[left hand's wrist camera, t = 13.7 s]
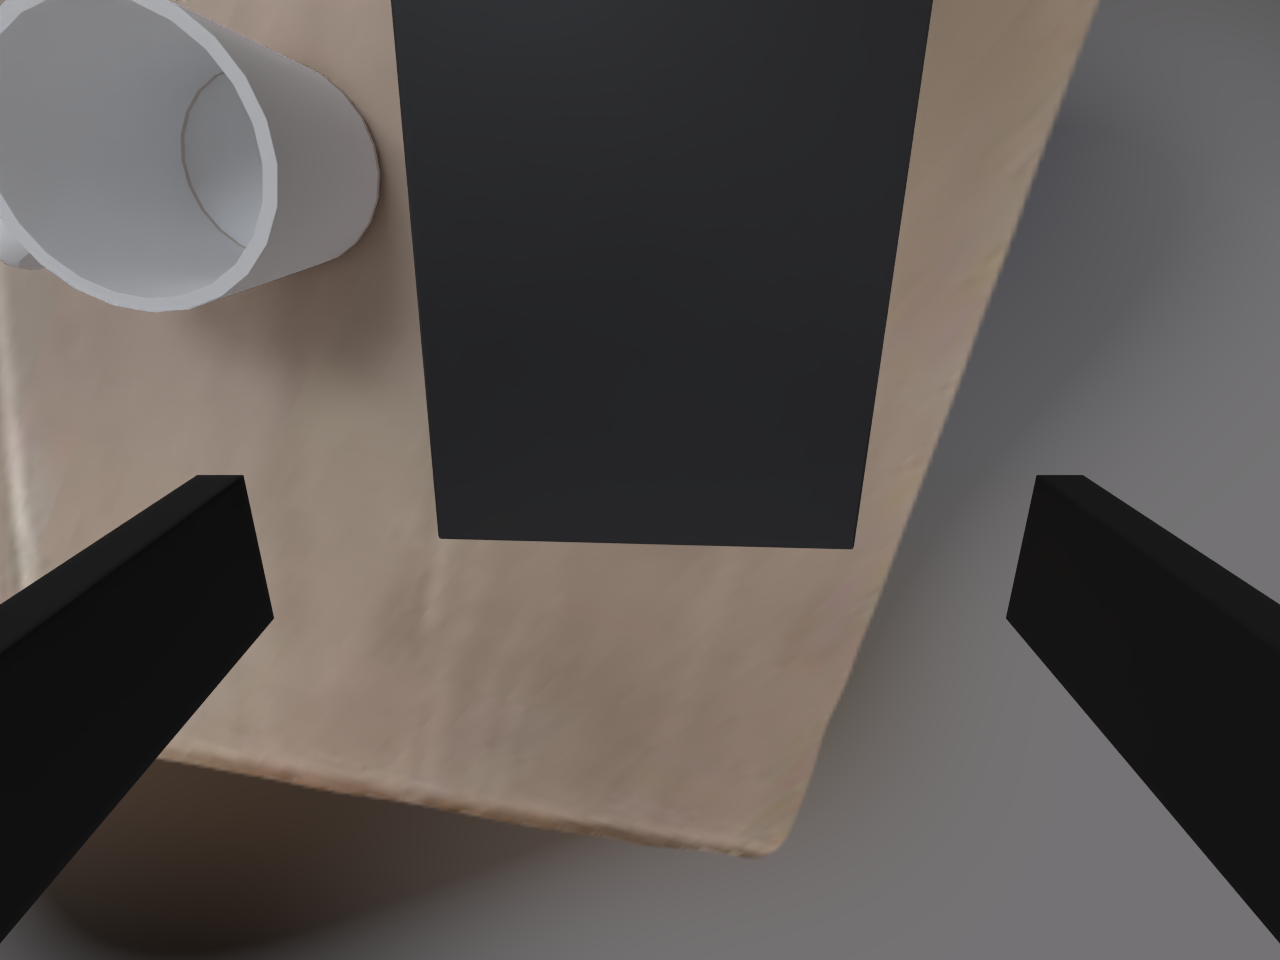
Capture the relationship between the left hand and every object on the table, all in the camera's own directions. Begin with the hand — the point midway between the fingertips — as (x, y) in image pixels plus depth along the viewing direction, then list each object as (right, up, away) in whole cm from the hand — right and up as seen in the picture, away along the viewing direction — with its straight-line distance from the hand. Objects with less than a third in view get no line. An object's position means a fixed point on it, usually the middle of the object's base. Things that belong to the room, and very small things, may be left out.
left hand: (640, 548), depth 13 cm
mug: (-16, +14, +19) cm, 28 cm away
